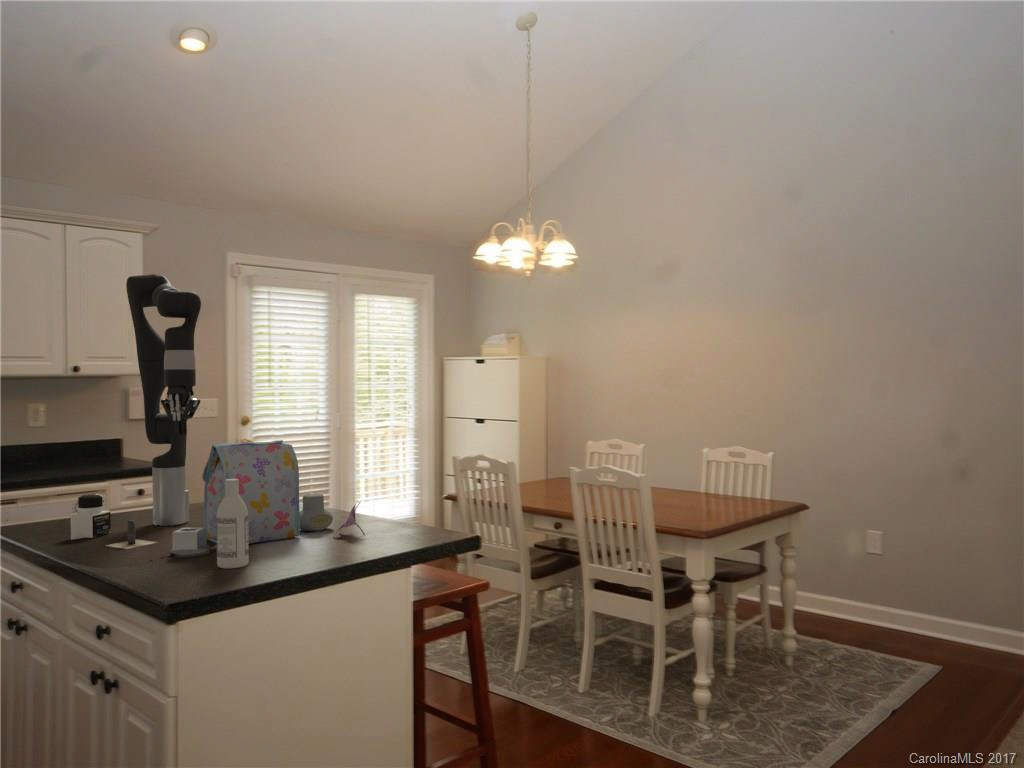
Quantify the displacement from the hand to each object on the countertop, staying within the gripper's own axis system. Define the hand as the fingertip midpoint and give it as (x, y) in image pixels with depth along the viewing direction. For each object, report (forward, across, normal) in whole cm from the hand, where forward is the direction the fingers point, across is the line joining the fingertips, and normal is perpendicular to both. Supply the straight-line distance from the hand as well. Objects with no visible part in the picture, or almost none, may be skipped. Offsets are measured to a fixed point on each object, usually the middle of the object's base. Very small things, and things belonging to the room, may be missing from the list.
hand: (180, 435), depth 207 cm
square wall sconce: (+28, -8, +4) cm, 29 cm away
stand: (+29, +12, +6) cm, 32 cm away
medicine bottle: (+29, +34, +3) cm, 45 cm away
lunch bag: (+29, -8, -16) cm, 34 cm away
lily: (+29, -28, -32) cm, 52 cm away
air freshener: (+29, -13, -34) cm, 47 cm away
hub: (+29, -8, +4) cm, 30 cm away
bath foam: (+29, -28, +8) cm, 41 cm away
